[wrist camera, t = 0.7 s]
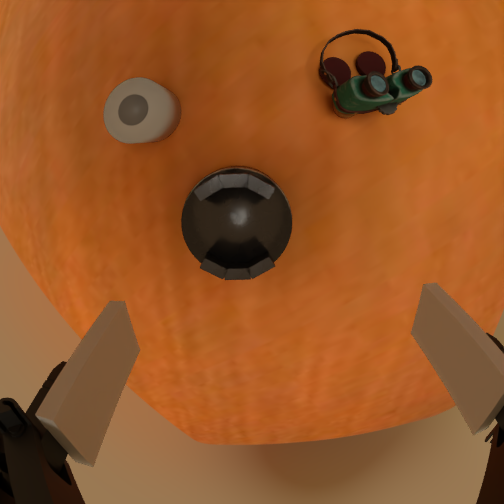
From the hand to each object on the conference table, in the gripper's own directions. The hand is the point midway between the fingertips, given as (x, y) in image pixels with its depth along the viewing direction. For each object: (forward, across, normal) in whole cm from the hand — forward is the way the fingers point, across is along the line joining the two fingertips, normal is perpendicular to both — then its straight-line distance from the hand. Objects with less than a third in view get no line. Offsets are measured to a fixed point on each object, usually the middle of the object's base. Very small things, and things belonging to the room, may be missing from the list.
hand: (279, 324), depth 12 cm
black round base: (+22, -3, -1) cm, 22 cm away
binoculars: (+22, +11, +14) cm, 29 cm away
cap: (+22, -11, +11) cm, 27 cm away
